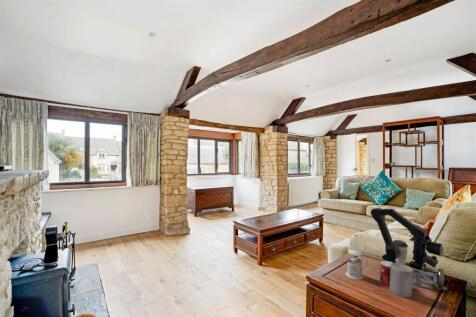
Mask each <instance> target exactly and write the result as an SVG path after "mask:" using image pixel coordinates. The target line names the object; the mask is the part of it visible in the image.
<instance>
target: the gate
mask: <svg viewBox="0 0 476 317" xmlns="http://www.w3.org/2000/svg"><path fill="white" fill-rule="evenodd" d="M412 270H413V271H412V280H415V269H414V268H412ZM418 271H420V282H424V283H427V284H431V285H434V286H435V285H438V274H437V273H435V272H429V271H426V270H422V271H421V270H418ZM428 276H430V277H433V278H432V279H430V278H429V277H428ZM422 277H423V278H422Z"/></svg>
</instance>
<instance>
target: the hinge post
mask: <svg viewBox="0 0 476 317" xmlns="http://www.w3.org/2000/svg"><path fill="white" fill-rule="evenodd" d="M437 273H438V274H437V285H434V286H435V287H436V288H437V290H438V289H439V290H442V291H443V290H444V291H448V288H447V287H445V283H444V282H445V270H444V269H443V268H438V269H437Z"/></svg>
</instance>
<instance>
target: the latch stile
mask: <svg viewBox="0 0 476 317" xmlns="http://www.w3.org/2000/svg"><path fill="white" fill-rule="evenodd" d="M420 278H421V275H420V271H418V270H417V269H415V279H413V280H414V282H412V286H413V287H415V288H423V285H422V284H421V281H420Z"/></svg>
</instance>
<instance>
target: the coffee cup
mask: <svg viewBox="0 0 476 317" xmlns="http://www.w3.org/2000/svg"><path fill="white" fill-rule="evenodd" d="M393 243H394V244H395V245H396V246H399V249H400V251H401V252H400V253H401V255H400V257H398V258H397V259H396V263H401V264H404V265H406V261H407V256H408V247H409V246H408V244H407V243H406V241H404V240H401V239H400V240H399V239H395V240H393Z"/></svg>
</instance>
